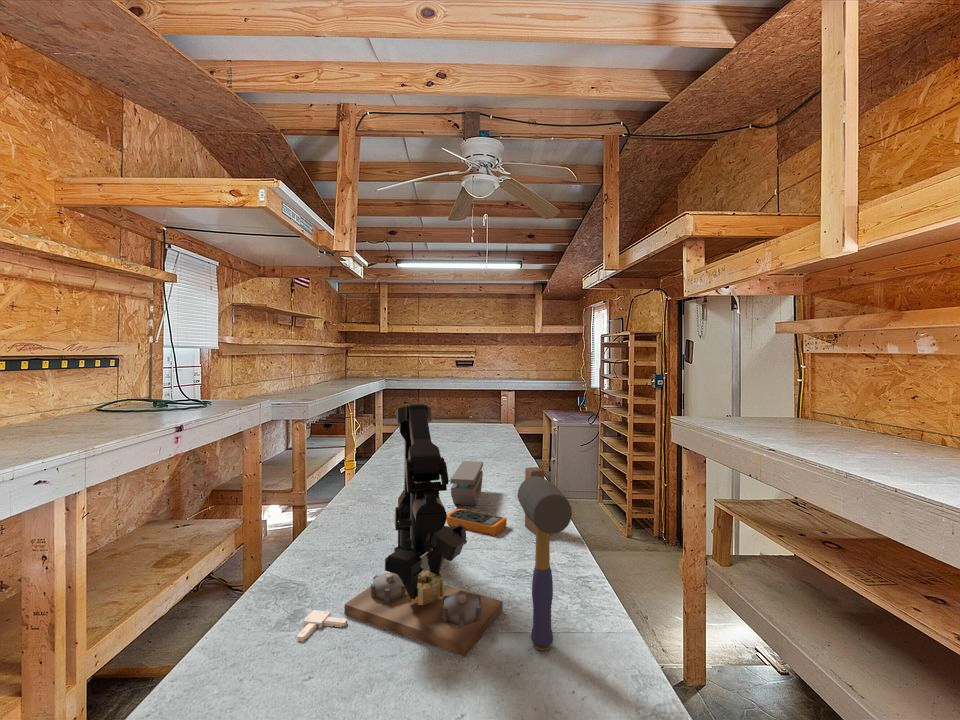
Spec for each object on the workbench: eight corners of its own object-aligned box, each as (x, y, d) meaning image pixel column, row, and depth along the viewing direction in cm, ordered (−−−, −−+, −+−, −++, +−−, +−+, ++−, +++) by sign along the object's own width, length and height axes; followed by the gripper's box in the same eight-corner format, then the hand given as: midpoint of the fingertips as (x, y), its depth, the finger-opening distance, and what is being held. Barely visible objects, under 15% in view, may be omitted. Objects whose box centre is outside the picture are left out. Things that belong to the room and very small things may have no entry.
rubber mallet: (514, 627, 88) (515, 473, 88) (551, 624, 89) (552, 472, 89) (530, 672, 76) (532, 494, 75) (573, 668, 77) (575, 492, 77)
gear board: (344, 613, 93) (344, 587, 92) (393, 578, 107) (393, 555, 107) (464, 657, 80) (465, 626, 80) (502, 610, 94) (502, 584, 94)
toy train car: (473, 512, 151) (473, 479, 151) (450, 511, 152) (450, 478, 152) (482, 489, 176) (483, 461, 176) (462, 488, 177) (463, 460, 177)
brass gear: (398, 598, 92) (398, 583, 92) (419, 581, 98) (420, 568, 98) (429, 608, 88) (429, 593, 88) (449, 590, 95) (449, 576, 95)
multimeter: (458, 517, 148) (458, 506, 148) (508, 528, 139) (508, 516, 139) (443, 526, 140) (443, 514, 140) (495, 538, 131) (495, 526, 131)
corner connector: (330, 647, 83) (330, 639, 83) (290, 642, 84) (290, 634, 84) (350, 622, 91) (350, 614, 91) (313, 617, 92) (313, 609, 92)
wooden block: (551, 535, 132) (552, 474, 132) (537, 537, 131) (538, 475, 131) (537, 524, 141) (538, 466, 140) (524, 526, 139) (524, 467, 139)
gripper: (432, 538, 81) (432, 625, 81) (480, 506, 97) (480, 578, 98) (383, 526, 86) (382, 608, 86) (436, 498, 103) (436, 566, 103)
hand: (424, 589), depth 93 cm, fingers closed on brass gear, 7 cm apart
